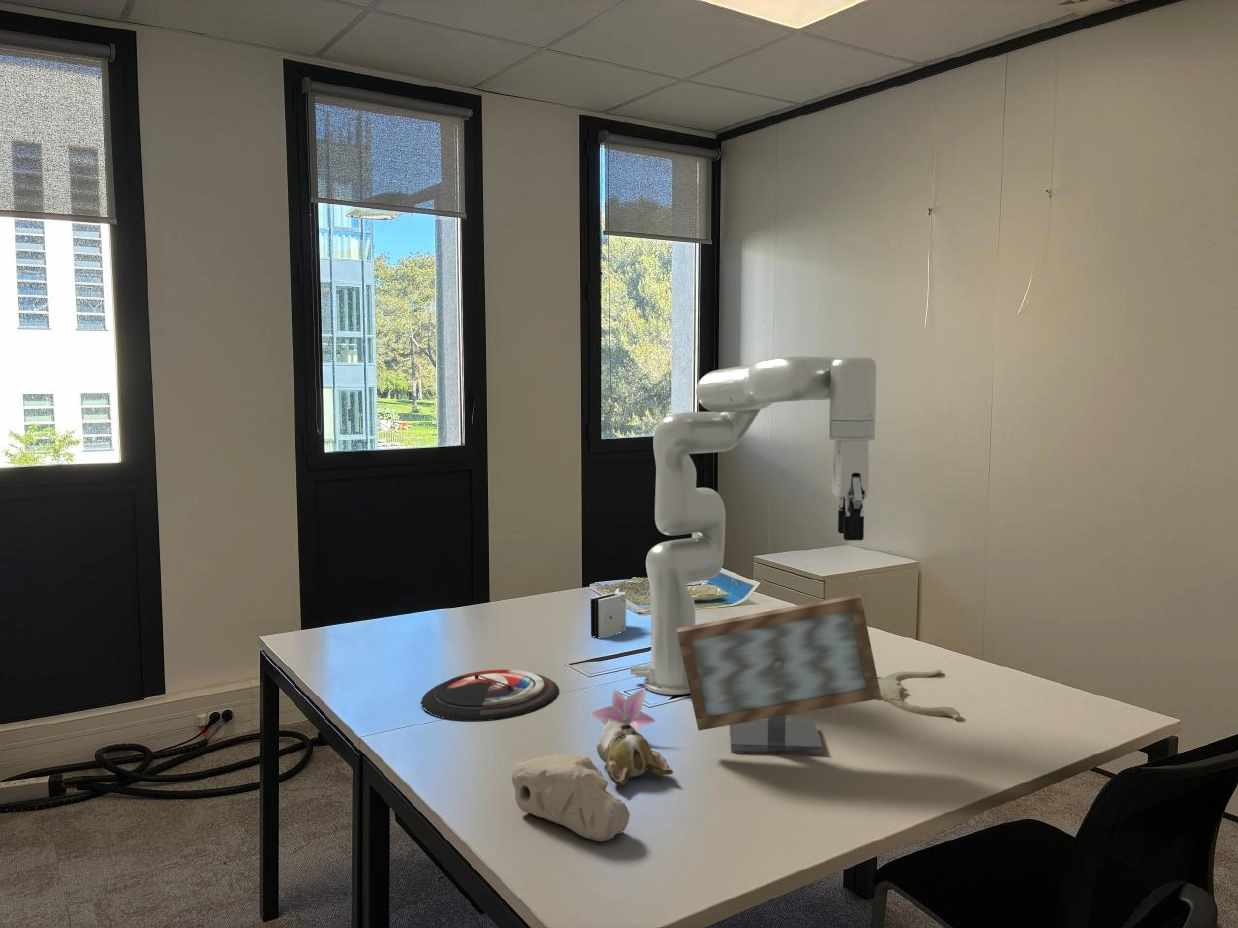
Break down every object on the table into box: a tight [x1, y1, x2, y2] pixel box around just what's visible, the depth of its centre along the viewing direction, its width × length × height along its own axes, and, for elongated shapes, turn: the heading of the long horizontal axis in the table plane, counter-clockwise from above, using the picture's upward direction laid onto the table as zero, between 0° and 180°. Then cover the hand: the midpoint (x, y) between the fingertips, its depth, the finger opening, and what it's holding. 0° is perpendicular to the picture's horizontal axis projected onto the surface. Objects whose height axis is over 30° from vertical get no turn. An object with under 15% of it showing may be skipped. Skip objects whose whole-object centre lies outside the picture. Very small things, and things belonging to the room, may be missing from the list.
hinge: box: [590, 588, 627, 639], centre depth 243 cm, size 14×5×10 cm, turn 147°
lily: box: [590, 688, 656, 734], centre depth 173 cm, size 11×11×9 cm
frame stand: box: [729, 715, 823, 756], centre depth 171 cm, size 16×12×19 cm
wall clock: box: [420, 669, 559, 721], centre depth 197 cm, size 27×5×30 cm
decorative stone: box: [511, 753, 631, 842], centre depth 141 cm, size 20×8×10 cm, turn 51°
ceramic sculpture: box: [596, 718, 674, 786], centre depth 158 cm, size 11×9×15 cm
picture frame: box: [677, 593, 881, 732], centre depth 163 cm, size 32×3×18 cm, turn 84°
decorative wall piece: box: [875, 669, 961, 720], centre depth 198 cm, size 30×3×30 cm
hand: (850, 535), depth 160 cm, fingers open, 5 cm apart
